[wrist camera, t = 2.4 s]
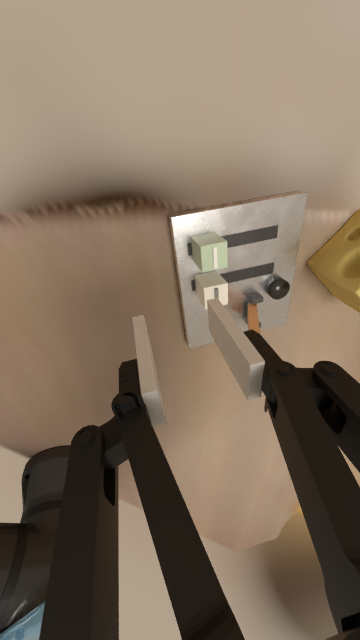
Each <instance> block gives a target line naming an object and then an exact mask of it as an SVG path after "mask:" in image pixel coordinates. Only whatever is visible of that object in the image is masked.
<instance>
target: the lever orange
mask: <svg viewBox="0 0 360 640" xmlns="http://www.w3.org/2000/svg"><path fill="white" fill-rule="evenodd" d="M247 323H248V330H254V331H256V332H258V333H260V328H259V319H258V311H257V304H252V303H251V302H250V301H248V302H247Z"/></svg>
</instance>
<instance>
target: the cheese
mask: <svg viewBox="0 0 360 640" xmlns="http://www.w3.org/2000/svg"><path fill="white" fill-rule="evenodd" d="M307 265H308V266H309V267H310V269H311V270H312V271H313V272H314V274H315V275H316V276H317V277H318V279H319V280H320V281H321V282H322V283H323V284H324V285H325V286H326V288H327V289H328V290H329V291H330V292H331V294H332V295H333V296H335V297H336V298H338V299H339V300H341V301H342V302H344V303H345V304H347V305H348V306H350V307H352V308H353V309H355V310H356V311H358V312H360V210H358V211H357V212H356V213H355V214H354V215H353V216H352V217H351V218H350V219H349V220H348V221H347V223H346V224H345V225H344V226H343V227H342V228H341V229H340V230H339V231H338V232H337V233H336V234H335V235H334V236H333V237H332V238H331V239H330V240H329V241H328V242H327V243H326V244H325V245H324V246H323V247H322V248H321V249H320V250H319V251H318V252H317V253H316V254H315V255H314V256H312V257H311V258H310V259H309V260H308V261H307Z"/></svg>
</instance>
